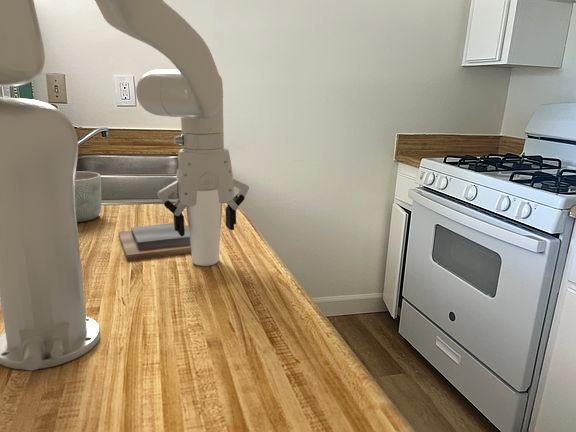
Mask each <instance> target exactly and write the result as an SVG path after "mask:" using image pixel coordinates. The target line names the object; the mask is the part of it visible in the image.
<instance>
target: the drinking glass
mask: <svg viewBox="0 0 576 432" xmlns="http://www.w3.org/2000/svg"><path fill="white" fill-rule="evenodd" d="M185 213H186V218H187V225H188V228H189V236H190V245H191V253H190V254H191V262H192V263H193V264H194V265H196V266H200V267H209V266H213V265H216V264H217V263H218V262H219V261H220V244H221V232H222V231H221V230H222V217H223V216H222V215H223V203H219V196H218V190H217V189H216V190H208V191H197V199H196V205H194V206H186V207H185Z"/></svg>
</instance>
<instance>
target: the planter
mask: <svg viewBox="0 0 576 432" xmlns="http://www.w3.org/2000/svg"><path fill="white" fill-rule="evenodd" d="M101 178H102V176H101V174H100V173H98V172H93V171H80V170H79V171H76V174H75V209H76V220H77V223H82V222H88V221H92V220H93V219H94V220H95V218H97V217H98V216H100V214H101V210H102V182H101V181H102V180H101Z"/></svg>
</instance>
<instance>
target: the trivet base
mask: <svg viewBox="0 0 576 432" xmlns="http://www.w3.org/2000/svg"><path fill="white" fill-rule="evenodd" d="M184 231H185V235H184V236H180V234H179V233H178V231H175V228H174V222H172V223H163V224H153V225H152V224H151V225H141V226H131V227H130V230H124V231H118V233H117V234H118V239H119V241H120V242H119V243H120V245H121V247H122V250H123V254H124V256H125V259H126V261H127V262H128V261H136V260H146V259H153V258H161V257H168V256H169V257H170V256H177V255H187V254H191V245H190V236H189V228H188V224H186V225H185V224H184Z"/></svg>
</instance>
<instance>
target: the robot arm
mask: <svg viewBox="0 0 576 432" xmlns="http://www.w3.org/2000/svg"><path fill="white" fill-rule="evenodd" d="M34 1H35V0H0V88H1V87H4V88H5V87H19V86H25V85H27V84H30V83H31V82H33V81H35V80H36V79H37V78H38V77H39V76H40V75H41V74H42V72H43V69H44V67H45V63H46V61H45V59H46V55H45V47H44V43H43V41H44V40H43V36H42V32H41V28H40V23H39V20H38V15H37V11H36V10H37V9H36V6H35V2H34ZM94 1H95V3H96V6H97V7H98V9H99V11H100V13H101V15H102V17H103V19H104V21H106V22H107V24H108V25H110V26H111V27H113V28H114V29H115V30H117V31H120V32H122V33H123V34H125V35H127V36H128V37H131V38H133V39H134V40H135V39H136V40H137V41H140V42H142V43H144V44H145V45H147V46H149V47H151V48H153V49H155V50H157V51H158V52H160V53H161V54H162V55H164V56H165V57H166V58H167V59H168V60H169V61H170V62H171V63H172V64H173V66H175V69H154V70H151V71H148V72H146V73H144V74H143V75H142V76H141V77H140V78H139V80H138V82H137V85H136V92H135V95H136V98H137V101H138V103H139V104H140V107H142V109H144V110H145V111H146V112H148V113H149V114H151V115H153V116H154V115H155V116H159V117H169V118H171V117H172V118H173V117H174V118H180V125H181V126H180V128H181V132H180V134H179V135H178V136H174V137H173V143H174V145H180V146H181V147H182V148H181V149H178V153H177V160H176V161H177V163H176V176H175V177H176V178H175V179H176V180H175V181H173V182H172V183H169V184H168V185H166V186H165V187H163V188H162V189H160V190H158V191H157V193H156V194H157V196H158V198H159V199H160V201H161V203H162V204H163V206H164V207H165V208H166V209H167V210H168V211H170V212H171V213H172V214H173V223H174V228H175V231H178V233H179V234H180V236H184V235H185V231H184V225H185V216H184V215H183V212H184V210H186V206H194V205H196V199H197V191H208V190H216V189H217V190H218V196H219V203H222V204H227V206H226V207H225V226H226V228H228V230H230V231H234V230H235V225H236V224H237V210H238V209H239V206H240V205H241V204H242V203H243V202H244V201H245V198H246V195H247V193H248V192H249V190H250V186H249V185H248V184H246V183H243V182H242V181H240V180H237V179H235V178H234V177H233V176H234V175H233V168H232V167H233V166H232V161H231V156H230V151H229V149H228V148H226V147H225V143H224V141H225V139H224V138H225V136H224V90H223V89H224V88H223V85H224V84H223V78H222V77H221V75H220V74H219V69H218V67H217V66H216V62H215V60H214V57H213V54H212V53H211V50H210V47H208V45H207V43H206V41H205V40H204V38H203V37H202V36H201V35H200V34H199V33H198V32H197V31H196V30H195V28H193V27H192V25H190V23H189V22H188V21H187V20H186V19H185V18H183V16H182V15H181V14H179V13H178V12H177V11H176V10H175V9H174V8H172V6H170V5H169V4H167V3H166V2H165V1H164V0H94ZM78 140H79V139H78V135H77V132H76V129H75V127H74V125H73V123H72V121H71V120H70V119H69V118H68V116H67V115H66V114H65V113H64V112H62V111H61V110H60V109H59V108H57V107H55V106H53V104H50V103H47V102H43V101H40V100H36V99H30V98H22V97H21V98H18V97H3V95H2V93H1V91H0V304H1V311H2V313H1V314H2V318H3V325H4V332H3V333H2V334H1V335H0V365H2V366H4V367H7V368H11V369H14V370H25V371H26V370H27V371H36V370H39V369H45V368H46V369H47V368H51V367H55V366H60V365H62V364H66V363H68V362H71V361H73V360H76V359H78V358H80V357H81V356H83V355H85V354H86V353H89V351H90V350H92V349H93V348H94V347H95V346H96V345H97V343H98V342H99V341H100V337H101V331H100V330H101V329H100V325H99V323H98V322H97V321H96V320H94V318H91V317H88V316H87V311H86V302H85V292H84V281H83V280H84V279H83V272H82V262H81V252H80V241H79V232H78V222H77V220H76V209H75V174H76V172H77V165H78V157H79V156H78V155H79V141H78ZM234 187H235V188H237V189H238V193H237V194H236V195H235V191H234V190H235V188H234ZM174 192H175V193H176V197H177V200H176V201H175V203H172V202H171V201H170V199H169V195H171V194H173V193H174ZM234 195H235V196H234Z"/></svg>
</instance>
